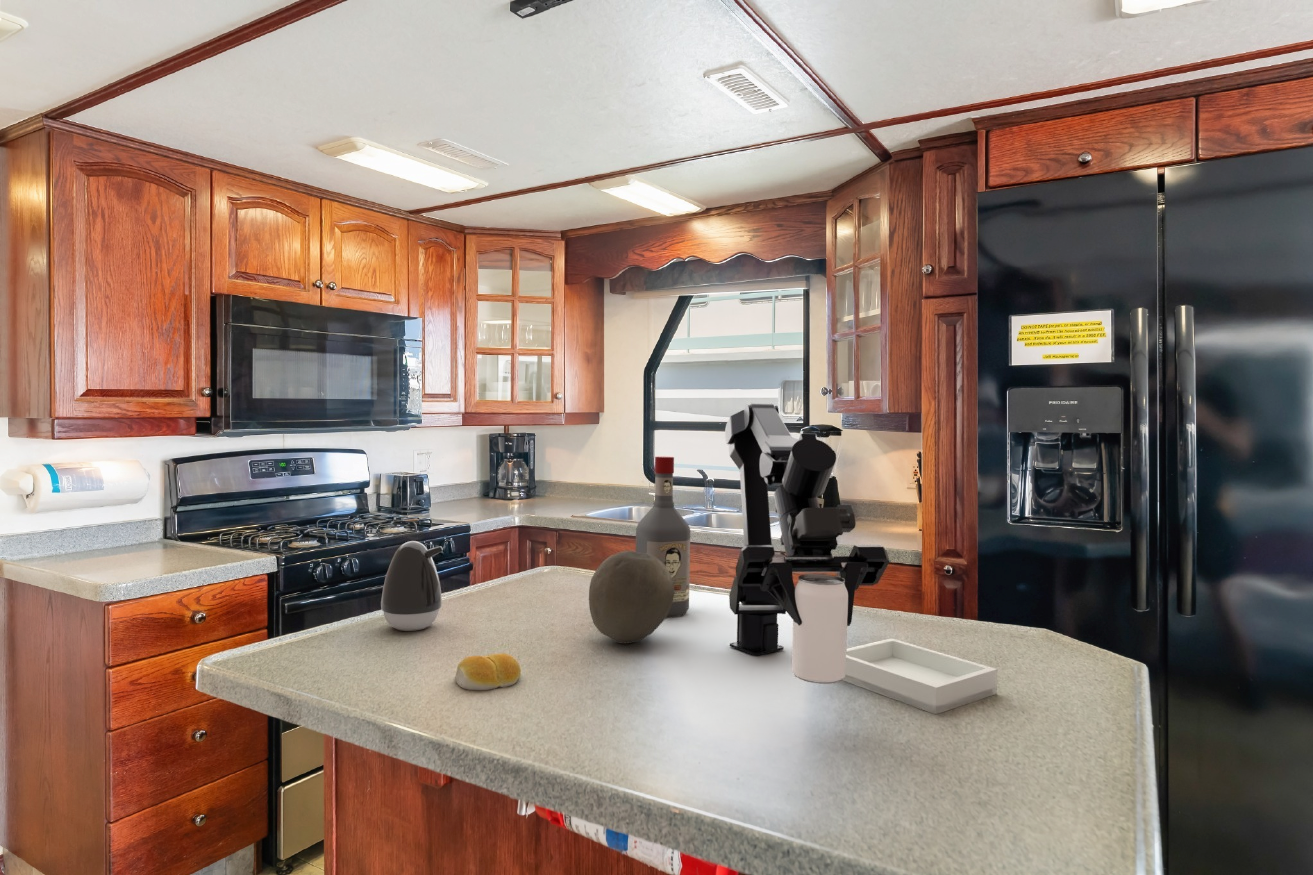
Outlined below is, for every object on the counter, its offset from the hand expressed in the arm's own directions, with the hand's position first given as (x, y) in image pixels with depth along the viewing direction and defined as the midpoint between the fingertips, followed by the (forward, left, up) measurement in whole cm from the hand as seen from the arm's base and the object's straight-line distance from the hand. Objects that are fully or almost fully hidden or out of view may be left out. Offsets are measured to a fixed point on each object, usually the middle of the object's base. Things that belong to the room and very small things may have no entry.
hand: (824, 624), depth 96 cm
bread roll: (-39, -26, -14) cm, 49 cm away
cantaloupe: (-45, +2, -13) cm, 47 cm away
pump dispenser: (-72, -26, -13) cm, 78 cm away
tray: (-5, +24, -13) cm, 28 cm away
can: (-1, 0, -7) cm, 7 cm away
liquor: (-58, +18, -13) cm, 62 cm away
